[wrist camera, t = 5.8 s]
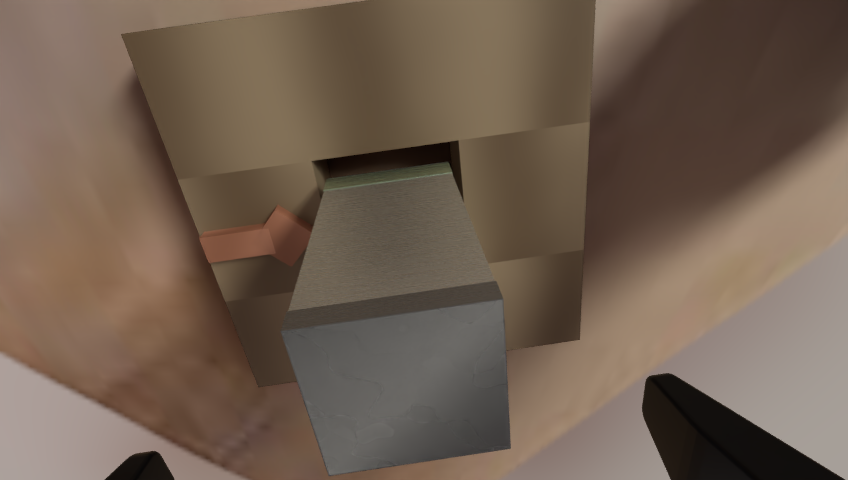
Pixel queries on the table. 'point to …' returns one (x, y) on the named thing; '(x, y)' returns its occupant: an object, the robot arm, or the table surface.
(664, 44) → the table surface
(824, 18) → the table surface
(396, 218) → the column
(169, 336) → the table surface
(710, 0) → the table surface
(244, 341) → the stand block
